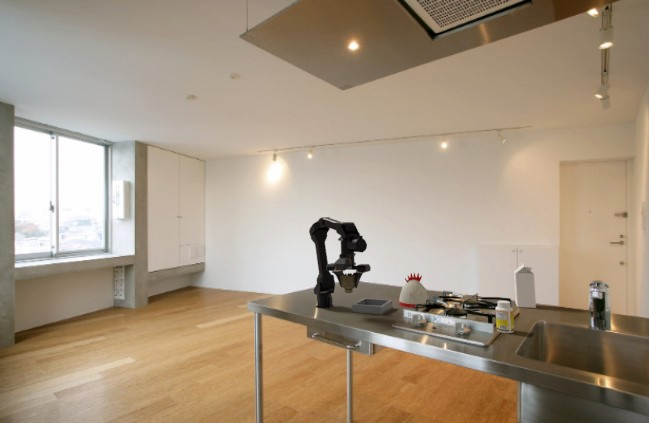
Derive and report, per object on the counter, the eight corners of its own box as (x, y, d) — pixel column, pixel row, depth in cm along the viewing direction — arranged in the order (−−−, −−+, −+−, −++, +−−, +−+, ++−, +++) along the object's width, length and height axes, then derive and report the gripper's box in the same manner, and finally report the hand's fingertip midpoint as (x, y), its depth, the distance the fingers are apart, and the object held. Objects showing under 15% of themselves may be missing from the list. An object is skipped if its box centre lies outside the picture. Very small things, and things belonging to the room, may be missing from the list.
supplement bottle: (509, 328, 124) (508, 299, 125) (517, 333, 119) (516, 303, 119) (493, 329, 125) (492, 300, 125) (501, 333, 119) (499, 303, 119)
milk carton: (517, 307, 154) (515, 264, 155) (515, 304, 161) (513, 262, 162) (536, 308, 151) (533, 264, 152) (533, 304, 158) (530, 262, 159)
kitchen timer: (432, 307, 160) (431, 274, 161) (402, 308, 160) (401, 275, 161) (424, 300, 174) (423, 270, 175) (397, 301, 174) (395, 271, 175)
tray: (352, 312, 156) (351, 304, 156) (364, 305, 168) (364, 298, 168) (382, 315, 149) (381, 306, 149) (392, 307, 161) (392, 300, 161)
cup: (356, 294, 146) (355, 275, 146) (338, 294, 147) (338, 275, 148) (358, 290, 153) (357, 272, 153) (341, 290, 155) (341, 272, 155)
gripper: (319, 252, 149) (320, 289, 148) (359, 253, 139) (360, 292, 139) (332, 250, 158) (333, 285, 158) (370, 250, 149) (371, 287, 148)
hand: (348, 287), depth 150 cm, fingers closed on cup, 6 cm apart
